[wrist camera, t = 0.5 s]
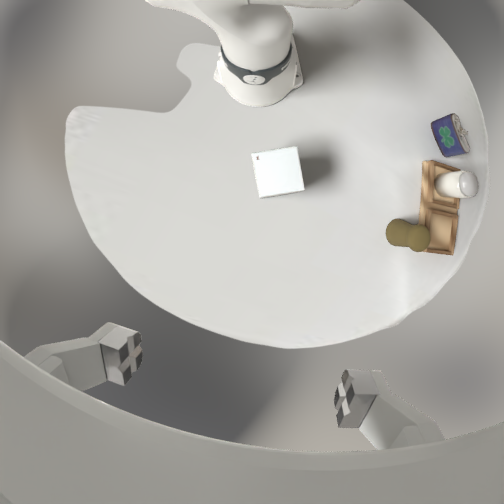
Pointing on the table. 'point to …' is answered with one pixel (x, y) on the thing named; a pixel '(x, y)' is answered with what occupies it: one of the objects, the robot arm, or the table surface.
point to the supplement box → (278, 172)
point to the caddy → (438, 210)
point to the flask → (450, 135)
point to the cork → (408, 235)
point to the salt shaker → (456, 184)
